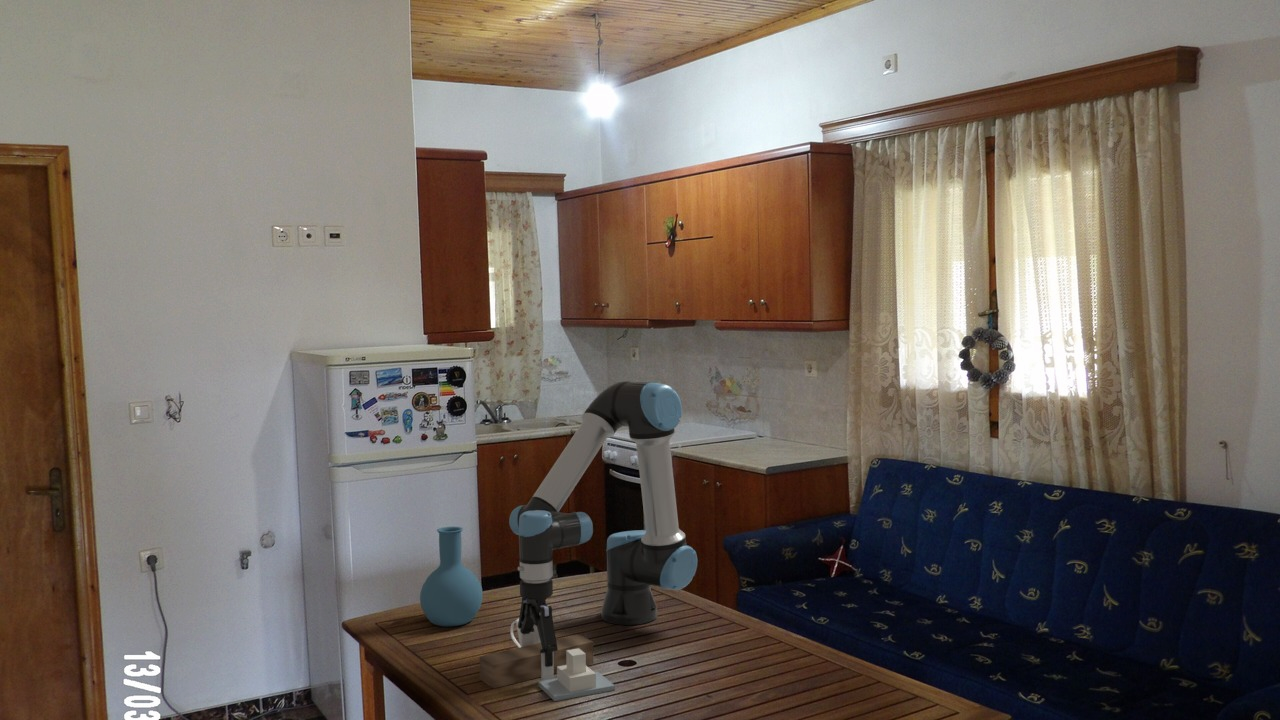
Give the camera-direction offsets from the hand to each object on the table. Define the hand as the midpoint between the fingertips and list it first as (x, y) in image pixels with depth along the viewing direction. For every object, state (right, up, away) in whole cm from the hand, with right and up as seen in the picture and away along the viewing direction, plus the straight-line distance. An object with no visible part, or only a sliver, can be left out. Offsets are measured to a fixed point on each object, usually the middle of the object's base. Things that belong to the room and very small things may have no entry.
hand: (537, 670), depth 233 cm
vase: (-27, +1, +39) cm, 48 cm away
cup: (-4, 0, +14) cm, 15 cm away
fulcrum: (+10, -1, -11) cm, 15 cm away
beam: (0, -1, 0) cm, 1 cm away
